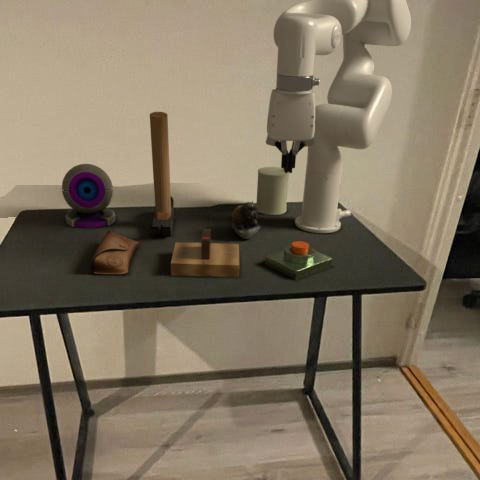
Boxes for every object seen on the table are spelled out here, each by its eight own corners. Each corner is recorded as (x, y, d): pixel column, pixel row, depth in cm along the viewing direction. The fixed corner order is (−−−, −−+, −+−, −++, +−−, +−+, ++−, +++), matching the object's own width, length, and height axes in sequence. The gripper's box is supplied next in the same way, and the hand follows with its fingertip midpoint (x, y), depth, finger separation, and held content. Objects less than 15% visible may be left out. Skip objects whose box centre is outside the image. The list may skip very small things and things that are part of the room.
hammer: (171, 247, 137) (167, 132, 117) (151, 246, 137) (143, 131, 117) (174, 207, 152) (171, 100, 132) (157, 207, 152) (150, 99, 132)
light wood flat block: (238, 255, 129) (238, 243, 127) (238, 277, 119) (239, 264, 117) (175, 253, 128) (175, 241, 127) (171, 275, 118) (170, 262, 116)
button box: (300, 252, 132) (301, 237, 130) (331, 266, 126) (333, 251, 123) (264, 264, 125) (266, 248, 123) (295, 280, 119) (297, 263, 117)
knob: (203, 246, 125) (203, 227, 123) (210, 247, 125) (210, 227, 123) (201, 259, 119) (201, 239, 116) (209, 259, 119) (209, 239, 117)
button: (299, 246, 126) (300, 239, 125) (311, 252, 123) (312, 245, 122) (287, 250, 123) (288, 243, 123) (299, 256, 121) (300, 249, 120)
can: (290, 214, 156) (293, 173, 149) (259, 215, 154) (261, 173, 148) (282, 204, 163) (285, 164, 157) (252, 205, 162) (254, 165, 156)
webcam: (65, 229, 139) (57, 171, 131) (66, 213, 149) (59, 158, 142) (116, 227, 142) (111, 170, 134) (114, 211, 152) (110, 157, 145)
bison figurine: (227, 226, 145) (228, 190, 140) (252, 225, 147) (254, 189, 141) (236, 243, 135) (238, 205, 130) (263, 242, 137) (266, 204, 131)
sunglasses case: (129, 273, 117) (111, 248, 114) (103, 287, 119) (85, 263, 115) (140, 241, 133) (124, 219, 129) (116, 254, 134) (100, 232, 131)
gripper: (326, 82, 115) (317, 166, 125) (257, 80, 115) (253, 166, 124) (332, 87, 109) (323, 176, 119) (259, 86, 108) (256, 176, 118)
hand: (287, 171), depth 122 cm, fingers closed
